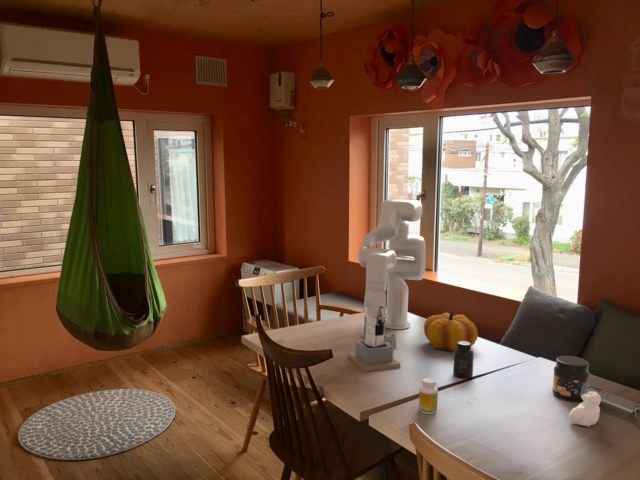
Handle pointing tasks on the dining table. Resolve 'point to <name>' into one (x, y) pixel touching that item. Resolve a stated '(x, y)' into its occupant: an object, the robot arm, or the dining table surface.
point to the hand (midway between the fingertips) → (374, 331)
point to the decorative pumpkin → (449, 330)
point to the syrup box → (372, 331)
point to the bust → (586, 410)
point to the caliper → (389, 340)
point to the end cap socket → (374, 357)
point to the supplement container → (570, 378)
